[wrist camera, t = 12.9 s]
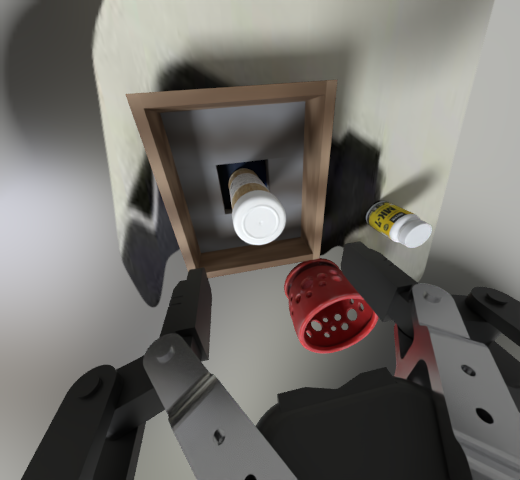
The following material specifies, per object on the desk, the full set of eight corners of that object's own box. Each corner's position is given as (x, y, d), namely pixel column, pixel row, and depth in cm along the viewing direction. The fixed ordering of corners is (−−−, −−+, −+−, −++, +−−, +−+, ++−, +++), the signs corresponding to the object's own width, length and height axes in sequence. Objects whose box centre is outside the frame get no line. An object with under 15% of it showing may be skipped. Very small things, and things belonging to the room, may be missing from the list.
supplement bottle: (378, 196, 32) (423, 215, 25) (395, 206, 34) (441, 227, 27) (359, 220, 34) (396, 244, 27) (376, 229, 36) (415, 254, 28)
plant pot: (350, 273, 40) (393, 322, 30) (301, 307, 43) (325, 363, 33) (320, 236, 34) (362, 282, 24) (265, 279, 37) (281, 336, 27)
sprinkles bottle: (251, 204, 29) (271, 253, 17) (223, 192, 27) (224, 237, 16) (265, 175, 27) (297, 209, 16) (235, 161, 25) (247, 186, 14)
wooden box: (152, 104, 21) (125, 94, 15) (307, 92, 23) (337, 79, 17) (197, 252, 31) (191, 281, 25) (301, 235, 33) (319, 258, 27)
